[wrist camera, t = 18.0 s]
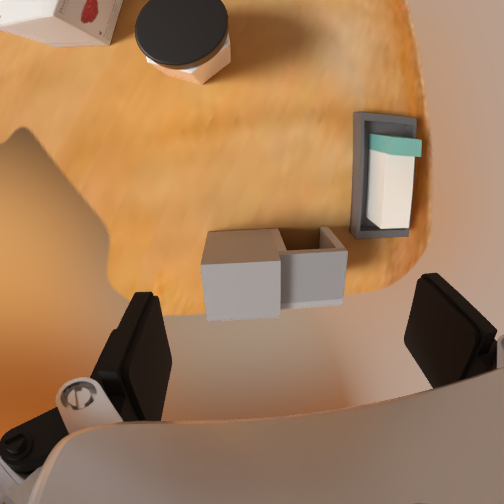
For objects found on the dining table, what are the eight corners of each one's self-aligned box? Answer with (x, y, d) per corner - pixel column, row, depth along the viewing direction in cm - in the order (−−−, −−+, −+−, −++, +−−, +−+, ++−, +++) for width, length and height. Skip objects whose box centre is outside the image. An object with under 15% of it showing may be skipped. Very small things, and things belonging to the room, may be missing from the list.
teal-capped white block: (368, 133, 37) (391, 136, 31) (396, 135, 37) (421, 139, 31) (365, 216, 41) (385, 233, 35) (391, 216, 41) (414, 231, 35)
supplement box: (111, 47, 31) (53, 18, 17) (54, 48, 30) (-14, 30, 16) (129, -13, 28) (85, -62, 14) (72, -9, 27) (15, -45, 13)
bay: (207, 231, 41) (200, 264, 32) (327, 226, 42) (352, 256, 33) (212, 279, 44) (207, 321, 35) (324, 272, 44) (346, 311, 35)
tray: (353, 112, 36) (360, 112, 34) (407, 117, 36) (416, 118, 34) (349, 232, 42) (355, 238, 40) (400, 230, 43) (408, 236, 40)
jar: (243, 33, 32) (247, -2, 21) (218, 91, 35) (212, 77, 23) (174, 14, 30) (152, -23, 19) (149, 72, 33) (116, 53, 22)
